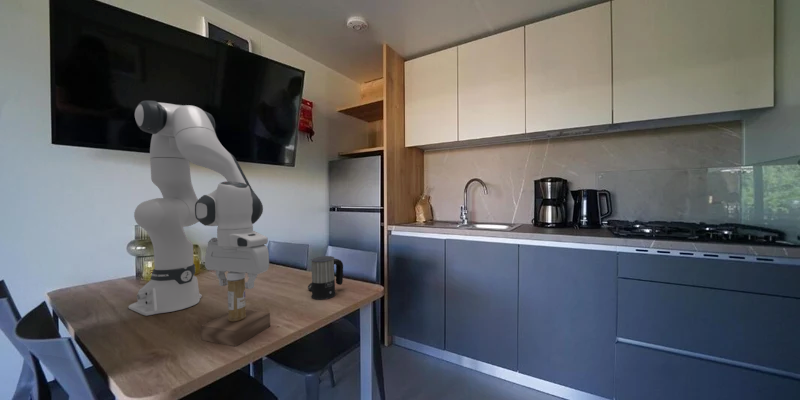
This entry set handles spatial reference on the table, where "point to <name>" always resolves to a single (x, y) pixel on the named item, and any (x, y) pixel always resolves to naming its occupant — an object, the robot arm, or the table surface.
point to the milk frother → (325, 277)
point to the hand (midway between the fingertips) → (236, 286)
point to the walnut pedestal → (235, 328)
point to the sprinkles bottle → (236, 296)
